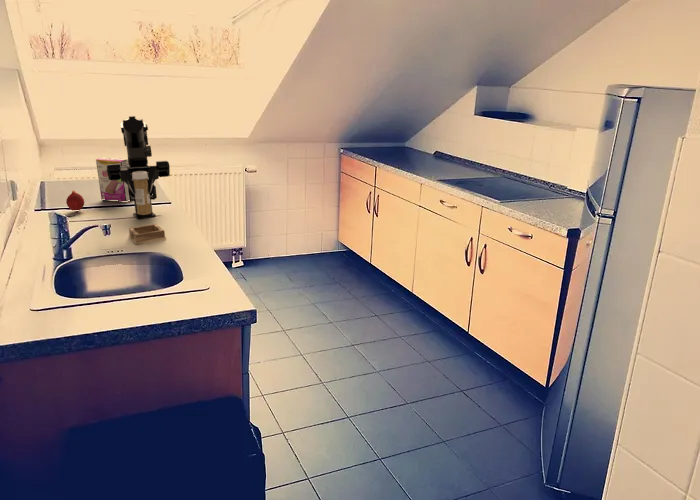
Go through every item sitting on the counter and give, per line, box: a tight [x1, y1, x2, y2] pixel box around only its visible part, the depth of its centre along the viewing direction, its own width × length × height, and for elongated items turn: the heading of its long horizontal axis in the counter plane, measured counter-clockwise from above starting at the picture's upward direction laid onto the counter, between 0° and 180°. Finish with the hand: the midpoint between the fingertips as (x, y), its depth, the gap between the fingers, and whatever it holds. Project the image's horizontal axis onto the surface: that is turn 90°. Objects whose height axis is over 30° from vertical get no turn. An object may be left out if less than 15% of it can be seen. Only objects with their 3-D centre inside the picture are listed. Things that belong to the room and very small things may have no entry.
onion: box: [65, 190, 85, 211], centre depth 205 cm, size 6×6×8 cm
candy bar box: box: [95, 156, 130, 201], centre depth 218 cm, size 11×5×16 cm, turn 77°
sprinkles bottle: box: [132, 171, 153, 215], centre depth 181 cm, size 5×5×14 cm
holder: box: [128, 223, 167, 246], centre depth 180 cm, size 9×9×3 cm
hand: (142, 192), depth 180 cm, fingers closed on sprinkles bottle, 4 cm apart
